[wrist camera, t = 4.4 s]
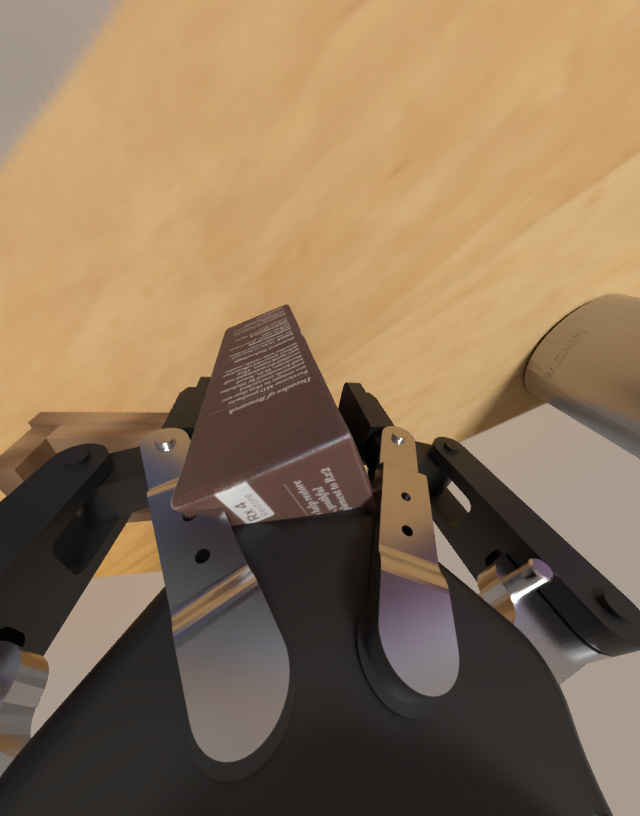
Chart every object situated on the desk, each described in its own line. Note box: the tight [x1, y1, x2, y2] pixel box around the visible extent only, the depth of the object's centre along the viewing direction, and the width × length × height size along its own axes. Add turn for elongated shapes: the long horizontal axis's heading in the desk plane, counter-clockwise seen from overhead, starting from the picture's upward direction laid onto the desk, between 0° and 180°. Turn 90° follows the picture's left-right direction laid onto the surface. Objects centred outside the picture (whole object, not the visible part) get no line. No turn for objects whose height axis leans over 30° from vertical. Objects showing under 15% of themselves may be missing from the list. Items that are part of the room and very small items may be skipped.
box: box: [170, 305, 377, 527], centre depth 11 cm, size 6×4×12 cm
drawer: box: [0, 412, 169, 523], centre depth 17 cm, size 10×10×6 cm
